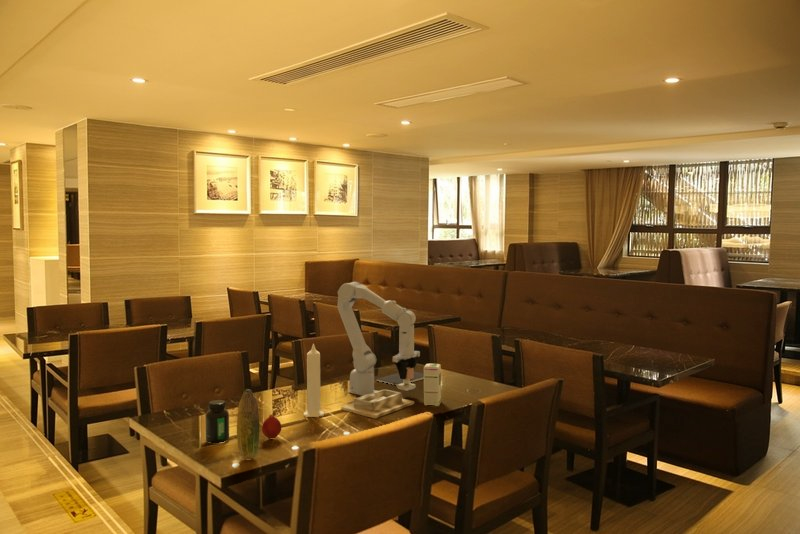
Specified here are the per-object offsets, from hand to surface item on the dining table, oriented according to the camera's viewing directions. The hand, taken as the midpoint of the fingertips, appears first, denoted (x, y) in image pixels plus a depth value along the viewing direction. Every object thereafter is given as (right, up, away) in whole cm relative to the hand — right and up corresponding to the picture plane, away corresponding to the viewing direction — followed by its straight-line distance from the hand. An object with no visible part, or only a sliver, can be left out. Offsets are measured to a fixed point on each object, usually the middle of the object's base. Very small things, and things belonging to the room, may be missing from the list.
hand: (406, 377), depth 230 cm
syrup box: (+10, -8, -8) cm, 15 cm away
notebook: (-1, -7, +28) cm, 29 cm away
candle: (-32, -9, -22) cm, 40 cm away
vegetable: (-45, -12, -62) cm, 78 cm away
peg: (0, -4, 0) cm, 4 cm away
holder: (-10, -8, -12) cm, 18 cm away
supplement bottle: (-58, -11, -48) cm, 76 cm away
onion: (-42, -11, -47) cm, 64 cm away
